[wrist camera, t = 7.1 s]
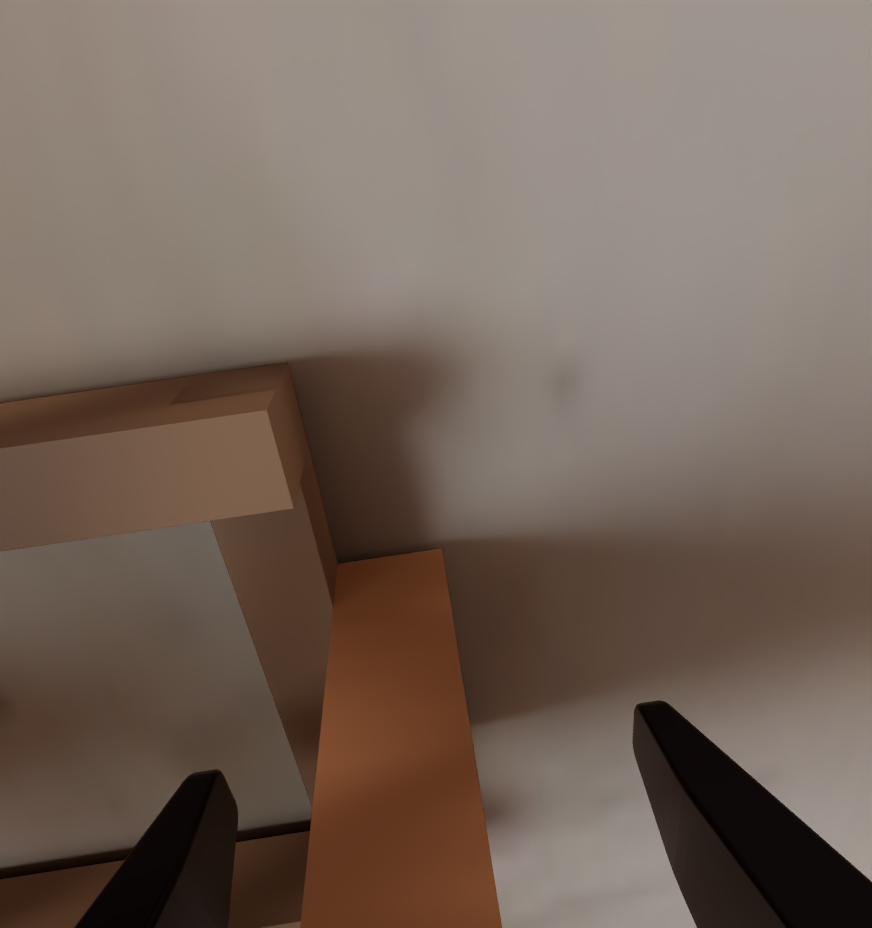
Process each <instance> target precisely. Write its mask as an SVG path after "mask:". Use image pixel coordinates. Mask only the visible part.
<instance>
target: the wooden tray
mask: <svg viewBox="0 0 872 928" xmlns="http://www.w3.org/2000/svg"><path fill="white" fill-rule="evenodd" d="M204 521H210V522H211V525H212V528H213V531H214V534H215V536H216V539H217V542H218V545H219V548H220V550H221V553H222V556H223V559H224V562H225V564H226V567H227V570H228V573H229V576H230V578H231V581H232V584H233V587H234V590H235V592H236V595H237V598H238V601H239V604H240V606H241V609H242V612H243V615H244V618H245V620H246V623H247V626H248V629H249V632H250V634H251V637H252V640H253V643H254V646H255V648H256V651H257V654H258V657H259V660H260V662H261V665H262V668H263V671H264V674H265V676H266V679H267V682H268V685H269V688H270V690H271V693H272V696H273V699H274V701H275V704H276V707H277V710H278V713H279V715H280V718H281V721H282V724H283V727H284V729H285V732H286V735H287V738H288V741H289V743H290V746H291V749H292V752H293V755H294V757H295V760H296V763H297V766H298V769H299V771H300V774H301V777H302V780H303V783H304V785H305V788H306V791H307V794H308V797H309V799H310V802H311V805H312V818H311V828H310V831H306V832H299V833H293V834H287V835H280V836H274V837H267V838H261V839H255V840H248V841H242V842H236V848H235V859H234V870H233V880H232V891H231V902H230V913H229V923H228V928H502V925H501V918H500V912H499V906H498V899H497V893H496V887H495V880H494V874H493V868H492V861H491V855H490V849H489V843H488V836H487V830H486V824H485V817H484V811H483V805H482V798H481V792H480V786H479V779H478V773H477V767H476V760H475V754H474V748H473V741H472V735H471V729H470V722H469V716H468V710H467V703H466V697H465V691H464V685H463V678H462V672H461V666H460V659H459V653H458V647H457V640H456V634H455V628H454V621H453V615H452V609H451V602H450V596H449V590H448V583H447V577H446V571H445V564H444V558H443V552H442V548H441V549H434V550H427V551H421V552H414V553H407V554H401V555H394V556H387V557H381V558H374V559H367V560H360V561H354V562H347V563H340V564H338V563H337V559H336V555H335V551H334V547H333V543H332V539H331V535H330V531H329V527H328V523H327V518H326V514H325V510H324V506H323V502H322V498H321V494H320V490H319V486H318V482H317V478H316V474H315V470H314V466H313V462H312V458H311V454H310V450H309V446H308V441H307V437H306V433H305V429H304V425H303V421H302V417H301V413H300V409H299V405H298V401H297V397H296V393H295V389H294V385H293V381H292V377H291V373H290V368H289V364H288V362H286V363H279V364H272V365H265V366H258V367H251V368H244V369H237V370H230V371H223V372H216V373H209V374H202V375H195V376H188V377H181V378H174V379H167V380H160V381H153V382H146V383H139V384H132V385H125V386H118V387H111V388H104V389H97V390H90V391H83V392H76V393H69V394H62V395H55V396H48V397H41V398H34V399H27V400H20V401H13V402H6V403H0V552H1V551H7V550H14V549H21V548H28V547H35V546H41V545H48V544H55V543H62V542H69V541H75V540H82V539H89V538H96V537H103V536H109V535H116V534H123V533H130V532H136V531H143V530H150V529H157V528H164V527H170V526H177V525H184V524H191V523H198V522H204ZM123 861H124V860H121V861H115V862H108V863H102V864H96V865H89V866H83V867H77V868H70V869H64V870H58V871H51V872H45V873H39V874H32V875H26V876H19V877H13V878H7V879H0V928H74V927H75V925H76V924H77V923H78V921H79V920H80V919H81V917H82V916H83V915H84V913H85V912H86V911H87V909H88V908H89V907H90V905H91V904H92V903H93V901H94V900H95V899H96V897H97V896H98V895H99V893H100V892H101V891H102V889H103V888H104V887H105V885H106V884H107V883H108V881H109V880H110V879H111V877H112V876H113V875H114V873H115V872H116V871H117V869H118V868H119V867H120V865H121V864H122V863H123Z"/></svg>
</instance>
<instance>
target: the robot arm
mask: <svg viewBox="0 0 872 928" xmlns="http://www.w3.org/2000/svg"><path fill="white" fill-rule="evenodd" d="M633 749H634V754H635V758H636V761H637V764H638V767H639V770H640V773H641V776H642V779H643V782H644V785H645V788H646V791H647V795H648V798H649V801H650V804H651V807H652V810H653V813H654V816H655V819H656V822H657V825H658V828H659V831H660V834H661V837H662V840H663V843H664V846H665V850H666V853H667V855H668V858H669V861H670V864H671V867H672V870H673V873H674V875H675V878H676V880H677V882H678V885H679V887H680V890H681V892H682V894H683V897H684V899H685V901H686V904H687V906H688V908H689V910H690V913H691V915H692V917H693V920H694V922H695V924H696V926H697V928H872V882H871V881H870V880H869V879H868V878H867V877H866V876H865V875H863V874H862V873H861V872H860V871H859V870H858V869H857V868H855V867H854V866H853V865H852V864H851V863H850V862H849V861H847V860H846V859H845V858H844V857H843V856H842V855H841V854H839V853H838V852H837V851H836V850H835V849H834V848H833V847H831V846H830V845H829V844H828V843H827V842H826V841H825V840H823V839H822V838H821V837H820V836H819V835H818V834H817V833H815V832H814V831H813V830H812V829H811V828H810V827H809V826H807V825H806V824H805V823H804V822H803V821H802V820H801V819H799V818H798V817H797V816H796V815H795V814H794V813H793V812H792V811H790V810H789V809H788V808H787V807H786V806H785V805H784V804H782V803H781V802H780V801H779V800H778V799H777V798H776V797H774V796H773V795H772V794H771V793H770V792H769V791H768V790H766V789H765V788H764V787H763V786H762V785H761V784H760V783H758V782H757V781H756V780H755V779H754V778H753V777H752V776H750V775H749V774H748V773H747V772H746V771H745V770H744V769H742V768H741V767H740V766H739V765H738V764H737V763H736V762H734V761H733V760H732V759H731V758H730V757H729V756H728V755H726V754H725V753H724V752H723V751H722V750H721V749H720V748H718V747H717V746H716V745H715V744H714V743H713V742H712V741H710V740H709V739H708V738H707V737H706V736H705V735H704V734H702V733H701V732H700V731H699V730H698V729H697V728H696V727H694V726H693V725H692V724H691V723H690V722H689V721H688V720H686V719H685V718H684V717H683V716H682V715H681V714H680V713H678V712H677V711H676V710H675V709H674V708H673V707H672V706H670V705H669V704H668V703H666V702H664V701H652V702H646V703H640V704H637V705H636V707H635V710H634V724H633ZM237 826H238V809H237V804H236V801H235V799H234V797H233V795H232V793H231V790H230V788H229V786H228V784H227V781H226V779H225V777H224V775H223V773H222V772H221V771H219V770H217V769H215V770H208V771H202V772H195V773H193V774H191V775H189V776H188V777H187V778H186V779H185V780H184V781H183V783H182V784H181V785H180V787H179V788H178V789H177V791H176V792H175V793H174V795H173V796H172V797H171V799H170V800H169V801H168V803H167V804H166V805H165V807H164V808H163V809H162V811H161V812H160V813H159V815H158V816H157V817H156V819H155V820H154V821H153V823H152V824H151V825H150V827H149V828H148V829H147V831H146V832H145V833H144V835H143V836H142V837H141V839H140V840H139V841H138V843H137V844H136V845H135V847H134V848H133V849H132V851H131V852H130V853H129V855H128V856H127V857H126V859H125V860H124V861H123V863H122V864H121V865H120V867H119V868H118V869H117V871H116V872H115V873H114V875H113V876H112V877H111V879H110V880H109V881H108V883H107V884H106V885H105V887H104V888H103V889H102V891H101V892H100V893H99V895H98V896H97V897H96V899H95V900H94V901H93V903H92V904H91V905H90V907H89V908H88V909H87V911H86V912H85V913H84V915H83V916H82V917H81V919H80V920H79V921H78V923H77V924H76V925H75V927H74V928H228V923H229V913H230V902H231V891H232V880H233V870H234V859H235V848H236V837H237Z"/></svg>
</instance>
